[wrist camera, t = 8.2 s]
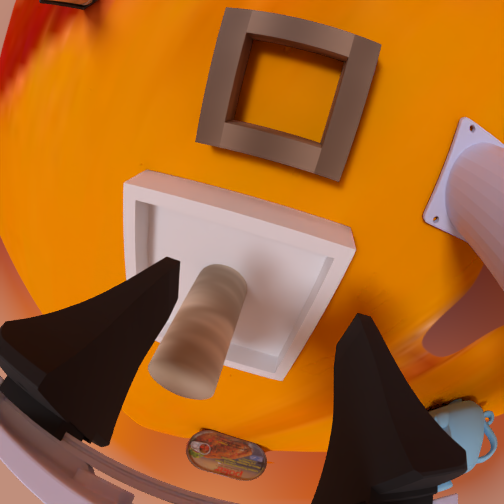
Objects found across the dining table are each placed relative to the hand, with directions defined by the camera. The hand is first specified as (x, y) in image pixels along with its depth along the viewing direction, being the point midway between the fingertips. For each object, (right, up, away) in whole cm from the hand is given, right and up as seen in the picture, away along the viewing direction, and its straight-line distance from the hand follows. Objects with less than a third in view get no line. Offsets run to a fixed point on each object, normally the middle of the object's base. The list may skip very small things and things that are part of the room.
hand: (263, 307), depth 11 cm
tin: (-4, -33, +33) cm, 46 cm away
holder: (+2, +12, +4) cm, 12 cm away
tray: (-3, 0, +12) cm, 12 cm away
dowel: (-3, -1, +11) cm, 11 cm away
